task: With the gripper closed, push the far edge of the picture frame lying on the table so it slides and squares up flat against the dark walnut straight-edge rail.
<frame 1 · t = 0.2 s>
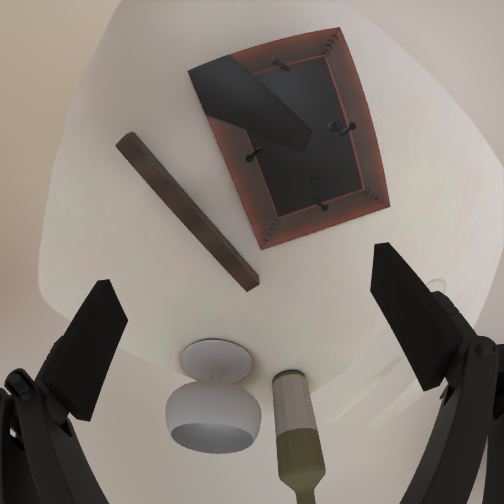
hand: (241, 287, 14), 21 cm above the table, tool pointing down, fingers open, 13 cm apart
bottle: (288, 377, 50), on the table
walnut rail: (192, 212, 34), on the table
chalice: (216, 361, 47), on the table
picture frame: (297, 135, 30), on the table
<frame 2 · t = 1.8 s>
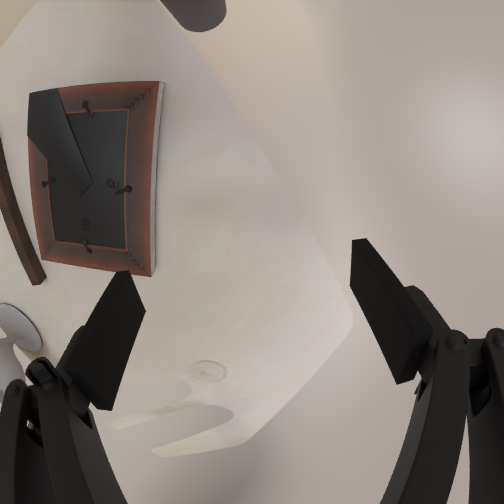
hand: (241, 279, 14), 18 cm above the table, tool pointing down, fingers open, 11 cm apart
walnut rail: (13, 205, 29), on the table
chalice: (19, 326, 40), on the table
picture frame: (92, 177, 29), on the table
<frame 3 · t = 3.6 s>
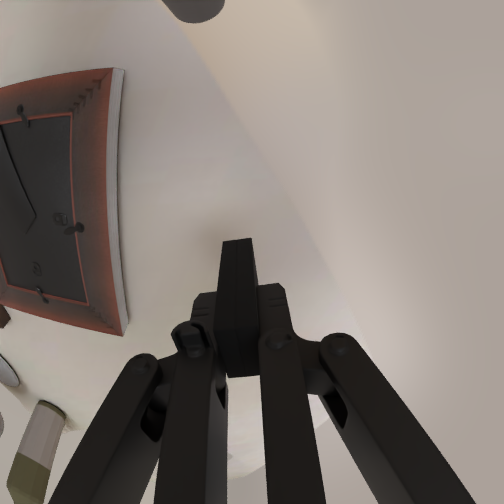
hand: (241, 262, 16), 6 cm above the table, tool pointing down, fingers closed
bottle: (52, 408, 37), on the table
picture frame: (40, 206, 20), on the table
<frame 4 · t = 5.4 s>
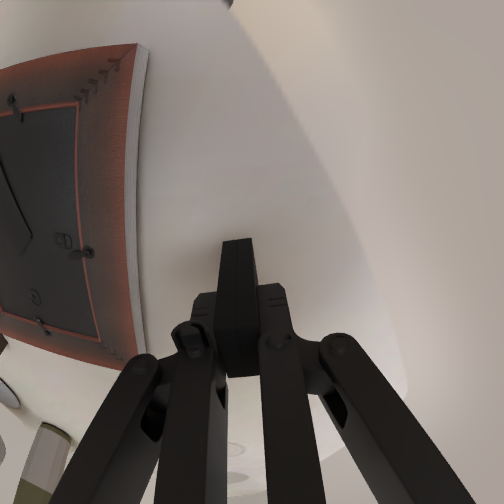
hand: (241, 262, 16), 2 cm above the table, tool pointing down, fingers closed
bottle: (56, 430, 33), on the table
picture frame: (38, 221, 16), on the table
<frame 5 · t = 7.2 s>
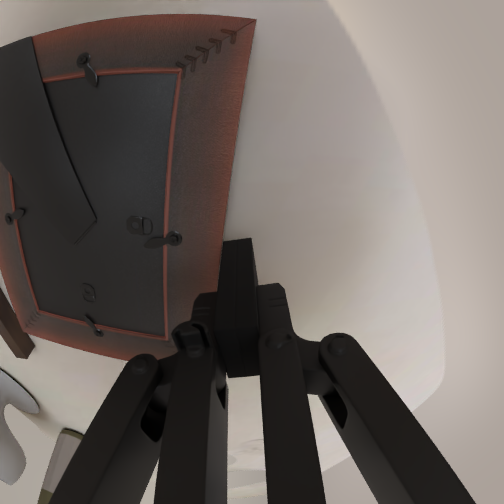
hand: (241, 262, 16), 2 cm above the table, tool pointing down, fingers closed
bottle: (78, 435, 33), on the table
chalice: (8, 386, 27), on the table
picture frame: (95, 206, 16), on the table, touching gripper
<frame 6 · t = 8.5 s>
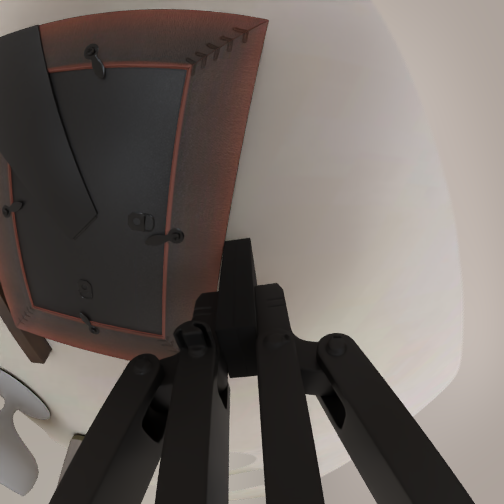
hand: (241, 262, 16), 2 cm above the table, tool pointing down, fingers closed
bottle: (91, 440, 32), on the table
chalice: (17, 391, 27), on the table
picture frame: (94, 200, 15), on the table, touching gripper, walnut rail
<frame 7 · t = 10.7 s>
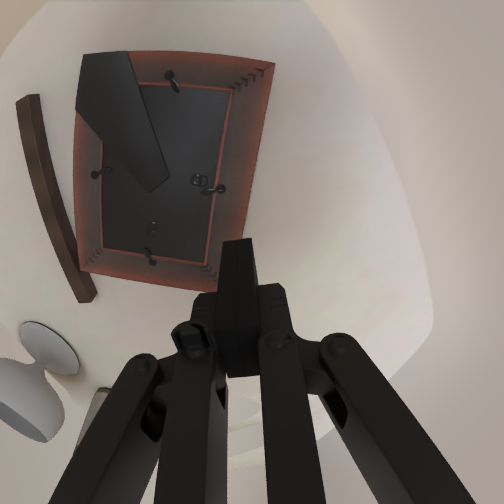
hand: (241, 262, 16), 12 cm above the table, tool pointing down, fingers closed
bottle: (112, 395, 42), on the table
walnut rail: (55, 200, 25), on the table
chalice: (49, 348, 36), on the table
picture frame: (161, 170, 25), on the table
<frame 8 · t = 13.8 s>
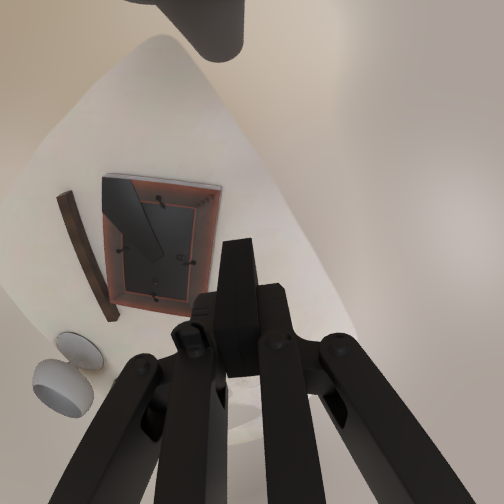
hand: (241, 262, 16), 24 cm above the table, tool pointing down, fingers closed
walnut rail: (90, 259, 43), on the table
chalice: (80, 350, 54), on the table
picture frame: (159, 246, 42), on the table
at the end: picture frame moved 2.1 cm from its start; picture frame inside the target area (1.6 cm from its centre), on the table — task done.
